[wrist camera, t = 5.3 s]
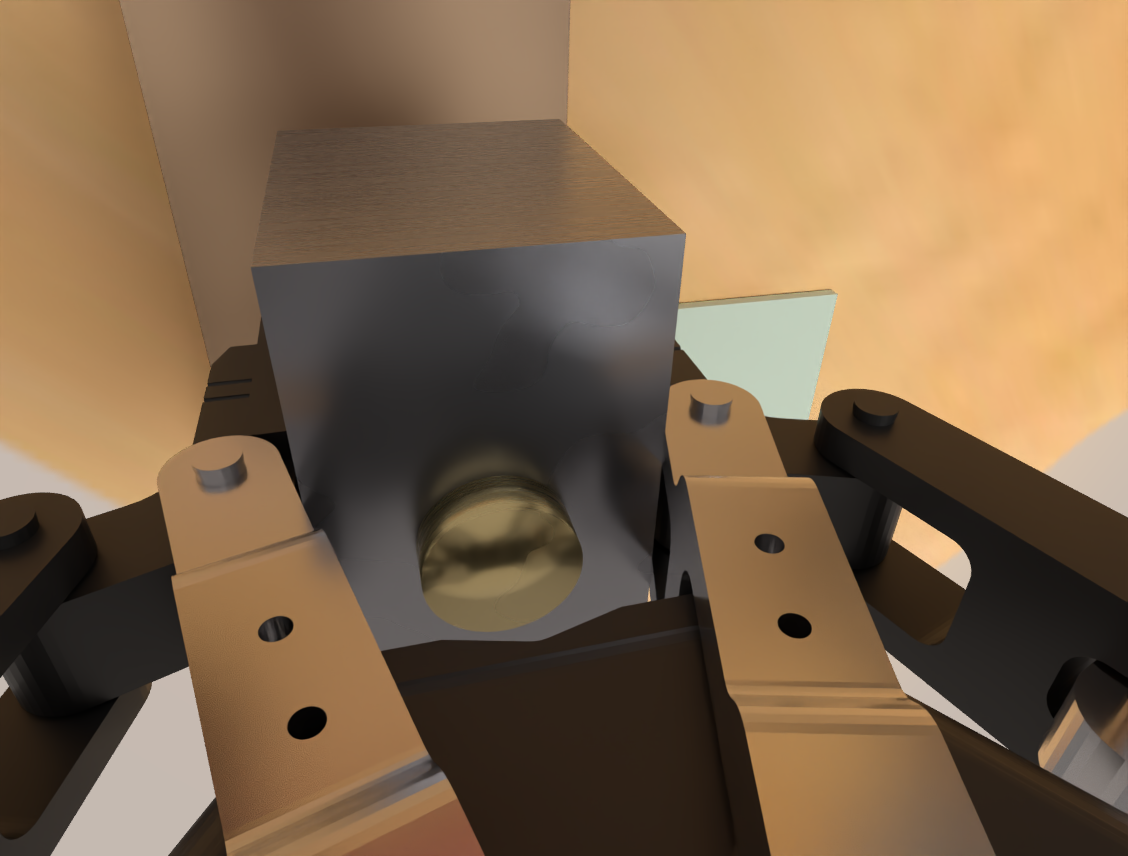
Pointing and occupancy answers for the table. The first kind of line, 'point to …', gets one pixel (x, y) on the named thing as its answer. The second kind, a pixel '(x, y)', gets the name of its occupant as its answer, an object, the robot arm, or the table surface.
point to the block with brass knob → (471, 369)
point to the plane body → (316, 102)
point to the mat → (761, 345)
